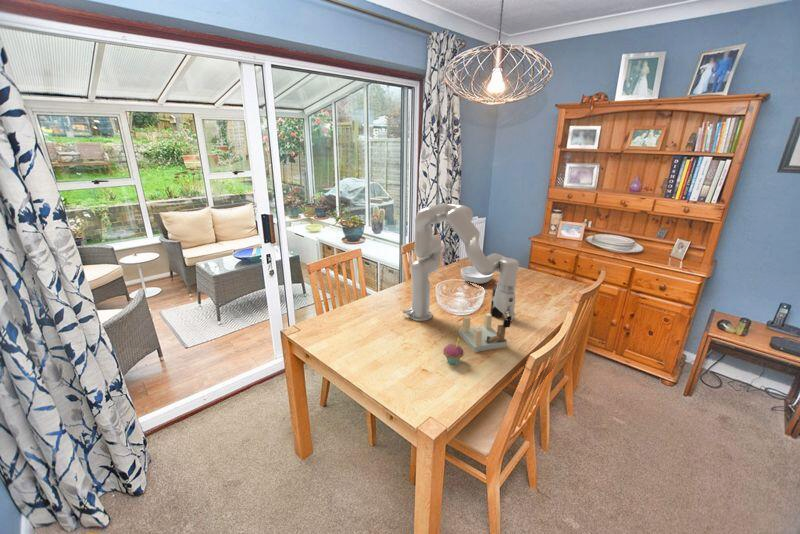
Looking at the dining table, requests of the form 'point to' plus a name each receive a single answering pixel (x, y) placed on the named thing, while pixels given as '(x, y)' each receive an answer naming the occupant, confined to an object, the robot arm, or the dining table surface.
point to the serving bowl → (474, 275)
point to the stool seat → (480, 335)
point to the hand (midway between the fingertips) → (500, 321)
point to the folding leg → (498, 334)
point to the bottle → (491, 302)
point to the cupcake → (453, 353)
